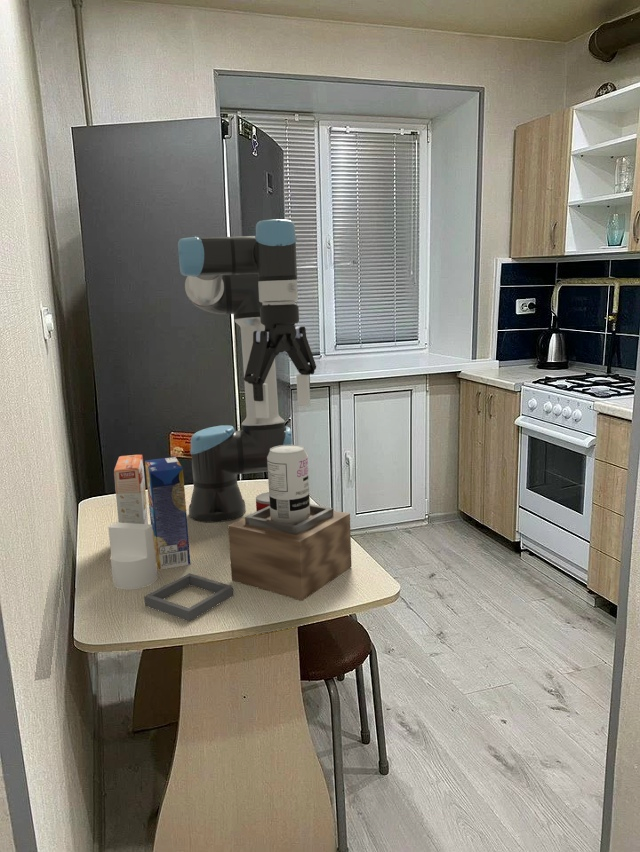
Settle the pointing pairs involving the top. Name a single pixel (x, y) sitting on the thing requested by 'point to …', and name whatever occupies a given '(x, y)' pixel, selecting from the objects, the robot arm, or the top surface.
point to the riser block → (290, 551)
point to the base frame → (220, 595)
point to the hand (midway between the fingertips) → (284, 411)
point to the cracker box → (130, 490)
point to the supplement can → (288, 484)
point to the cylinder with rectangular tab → (132, 555)
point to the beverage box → (168, 512)
